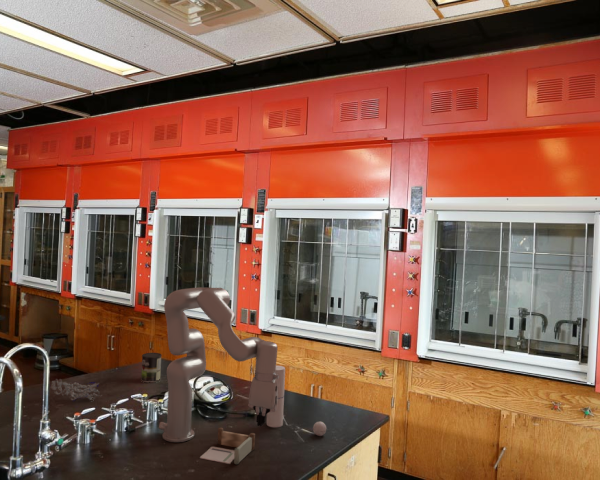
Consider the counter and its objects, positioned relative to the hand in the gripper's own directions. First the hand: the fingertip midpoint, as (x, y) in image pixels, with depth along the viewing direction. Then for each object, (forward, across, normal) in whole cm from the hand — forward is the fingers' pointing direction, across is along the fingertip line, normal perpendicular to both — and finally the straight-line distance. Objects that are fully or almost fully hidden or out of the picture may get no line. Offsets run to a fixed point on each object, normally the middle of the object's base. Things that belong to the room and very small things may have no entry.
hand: (260, 424), depth 179 cm
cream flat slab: (+13, +6, 0) cm, 15 cm away
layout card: (+14, +14, +1) cm, 20 cm away
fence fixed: (+14, +12, -8) cm, 20 cm away
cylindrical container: (+14, +5, -35) cm, 38 cm away
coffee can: (+18, +88, -66) cm, 112 cm away
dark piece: (+19, +102, -25) cm, 107 cm away
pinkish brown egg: (+13, -17, -32) cm, 38 cm away
